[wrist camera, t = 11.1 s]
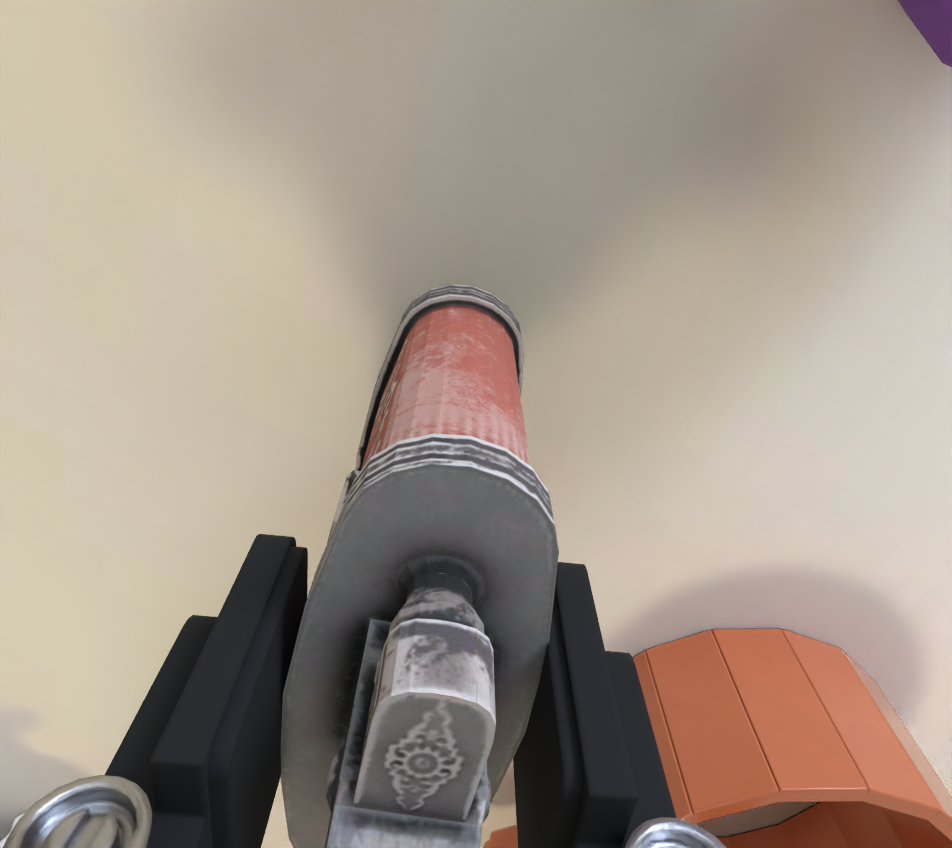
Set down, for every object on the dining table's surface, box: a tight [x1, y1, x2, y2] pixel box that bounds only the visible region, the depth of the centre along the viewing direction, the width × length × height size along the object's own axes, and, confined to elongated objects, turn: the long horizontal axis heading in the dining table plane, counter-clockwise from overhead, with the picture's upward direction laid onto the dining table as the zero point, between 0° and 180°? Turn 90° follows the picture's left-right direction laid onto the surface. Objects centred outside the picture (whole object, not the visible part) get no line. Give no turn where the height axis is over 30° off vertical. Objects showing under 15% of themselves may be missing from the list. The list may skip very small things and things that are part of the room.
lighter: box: [280, 284, 559, 848], centre depth 12 cm, size 8×3×10 cm, turn 167°
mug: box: [483, 629, 952, 848], centre depth 22 cm, size 14×11×6 cm
